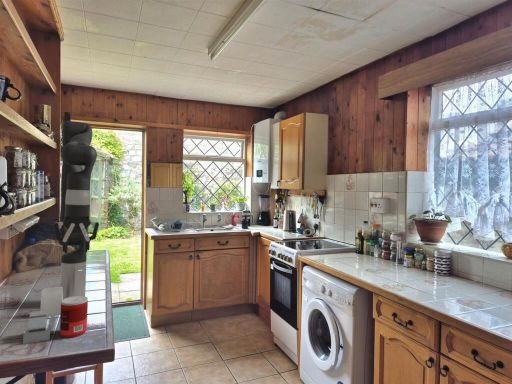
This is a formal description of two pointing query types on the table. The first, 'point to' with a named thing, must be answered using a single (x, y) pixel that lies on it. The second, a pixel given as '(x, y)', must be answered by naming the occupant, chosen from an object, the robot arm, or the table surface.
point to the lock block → (37, 321)
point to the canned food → (73, 316)
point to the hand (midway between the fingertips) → (76, 252)
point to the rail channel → (36, 336)
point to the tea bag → (51, 300)
